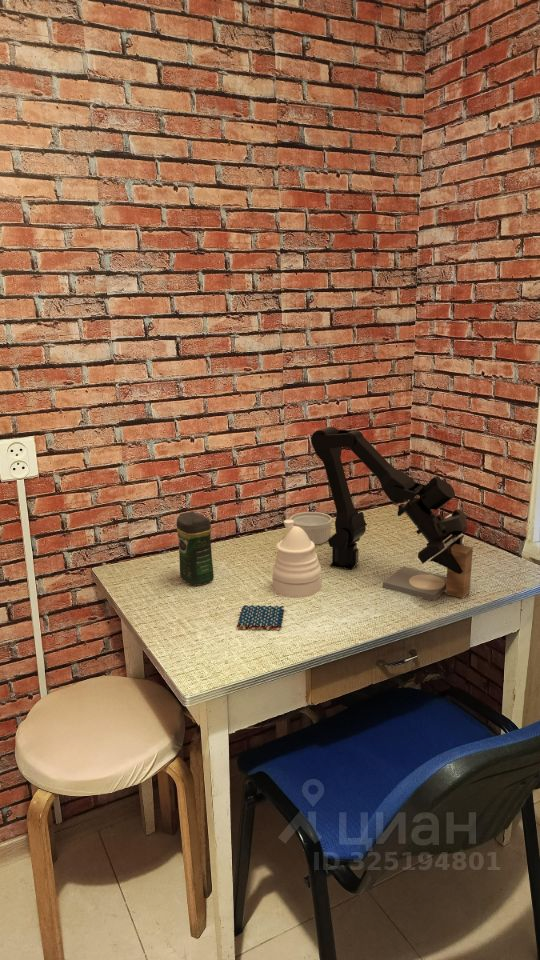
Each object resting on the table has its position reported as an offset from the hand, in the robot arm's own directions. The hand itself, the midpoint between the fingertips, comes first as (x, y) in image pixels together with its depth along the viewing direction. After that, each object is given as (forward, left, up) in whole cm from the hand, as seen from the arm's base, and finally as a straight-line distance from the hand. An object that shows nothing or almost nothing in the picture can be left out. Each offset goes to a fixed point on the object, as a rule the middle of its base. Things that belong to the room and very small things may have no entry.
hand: (464, 569), depth 160 cm
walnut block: (-1, 0, -7) cm, 7 cm away
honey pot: (-41, -11, -7) cm, 43 cm away
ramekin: (-50, +22, -7) cm, 55 cm away
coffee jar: (-68, -17, -7) cm, 70 cm away
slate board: (-12, +1, -7) cm, 14 cm away
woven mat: (-42, -31, -8) cm, 52 cm away
